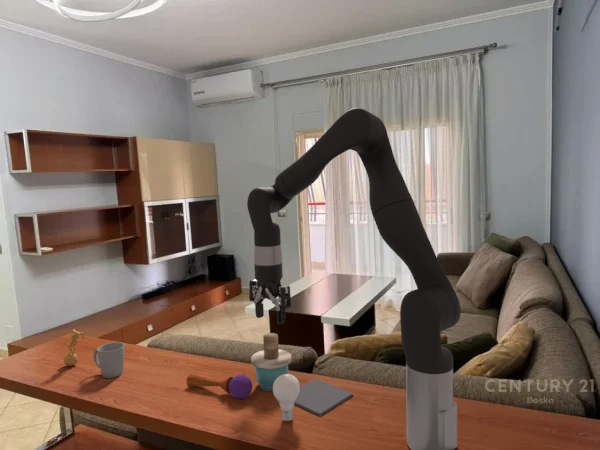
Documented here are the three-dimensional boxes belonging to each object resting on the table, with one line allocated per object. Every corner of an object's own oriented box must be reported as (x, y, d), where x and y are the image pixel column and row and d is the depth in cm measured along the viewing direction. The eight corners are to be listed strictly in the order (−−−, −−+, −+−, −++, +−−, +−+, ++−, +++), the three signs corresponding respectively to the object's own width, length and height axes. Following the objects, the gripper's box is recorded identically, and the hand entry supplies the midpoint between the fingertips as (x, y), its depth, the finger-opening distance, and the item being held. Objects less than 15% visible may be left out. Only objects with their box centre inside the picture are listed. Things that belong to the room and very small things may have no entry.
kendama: (197, 367, 121) (256, 373, 112) (197, 388, 121) (256, 396, 111) (183, 371, 116) (243, 378, 107) (182, 394, 115) (243, 403, 106)
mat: (353, 395, 110) (352, 393, 110) (320, 416, 100) (320, 413, 100) (315, 380, 119) (315, 378, 118) (282, 398, 109) (282, 396, 109)
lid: (299, 359, 116) (298, 334, 116) (270, 372, 109) (269, 346, 108) (272, 349, 124) (271, 326, 123) (243, 361, 116) (242, 336, 115)
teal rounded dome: (295, 383, 117) (294, 359, 116) (271, 396, 111) (270, 370, 110) (273, 374, 123) (272, 351, 123) (249, 385, 117) (248, 361, 116)
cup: (114, 381, 122) (112, 352, 121) (86, 377, 125) (84, 350, 124) (131, 370, 129) (130, 343, 129) (104, 367, 132) (102, 340, 131)
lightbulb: (286, 410, 103) (284, 366, 102) (306, 418, 99) (305, 373, 98) (268, 422, 98) (266, 376, 97) (288, 431, 94) (287, 383, 93)
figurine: (77, 359, 139) (74, 324, 138) (91, 361, 137) (89, 325, 136) (55, 370, 131) (52, 332, 130) (70, 372, 129) (66, 334, 128)
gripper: (296, 262, 112) (298, 322, 113) (261, 257, 121) (263, 312, 123) (276, 266, 106) (278, 329, 108) (240, 260, 116) (242, 318, 118)
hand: (270, 320), depth 115 cm, fingers open, 8 cm apart
